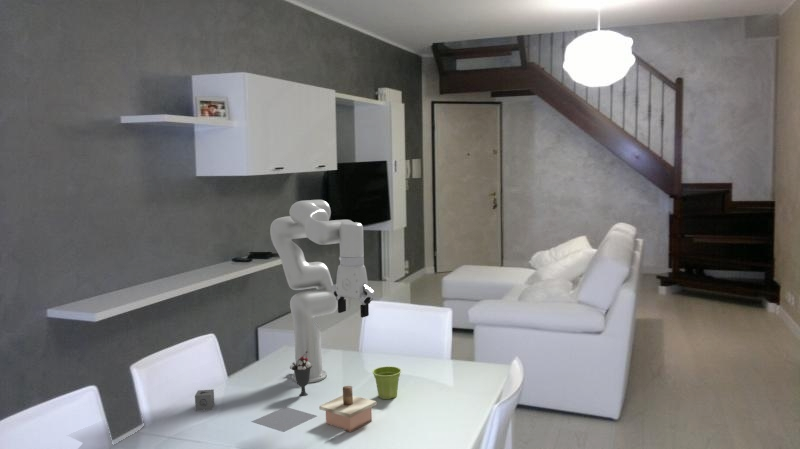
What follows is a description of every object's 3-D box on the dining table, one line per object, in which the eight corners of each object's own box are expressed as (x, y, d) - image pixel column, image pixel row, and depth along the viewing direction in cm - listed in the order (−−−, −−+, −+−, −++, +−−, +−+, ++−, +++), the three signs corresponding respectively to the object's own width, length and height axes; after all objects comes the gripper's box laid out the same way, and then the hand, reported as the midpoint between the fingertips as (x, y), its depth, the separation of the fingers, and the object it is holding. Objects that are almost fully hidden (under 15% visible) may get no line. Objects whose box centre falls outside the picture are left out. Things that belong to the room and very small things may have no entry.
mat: (251, 423, 197) (251, 421, 197) (285, 408, 208) (285, 406, 208) (283, 433, 188) (283, 431, 188) (317, 417, 200) (317, 415, 200)
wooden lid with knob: (319, 409, 193) (318, 389, 192) (346, 396, 203) (345, 378, 202) (350, 417, 186) (349, 397, 185) (376, 404, 195) (375, 385, 195)
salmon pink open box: (326, 425, 194) (325, 408, 193) (347, 414, 201) (347, 398, 201) (350, 432, 188) (350, 415, 188) (371, 421, 196) (371, 405, 195)
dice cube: (198, 405, 214) (197, 390, 213) (214, 404, 214) (213, 389, 214) (195, 411, 209) (194, 395, 208) (211, 409, 209) (210, 394, 209)
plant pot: (398, 402, 211) (397, 375, 210) (370, 400, 213) (369, 374, 212) (404, 391, 220) (403, 366, 219) (377, 390, 222) (376, 365, 221)
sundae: (317, 393, 221) (315, 350, 219) (307, 400, 214) (305, 356, 213) (299, 392, 223) (297, 349, 221) (289, 398, 216) (287, 354, 215)
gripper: (324, 260, 209) (325, 312, 211) (364, 266, 198) (366, 321, 200) (340, 257, 215) (341, 308, 217) (380, 262, 204) (381, 315, 206)
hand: (353, 314), depth 209 cm, fingers open, 9 cm apart
